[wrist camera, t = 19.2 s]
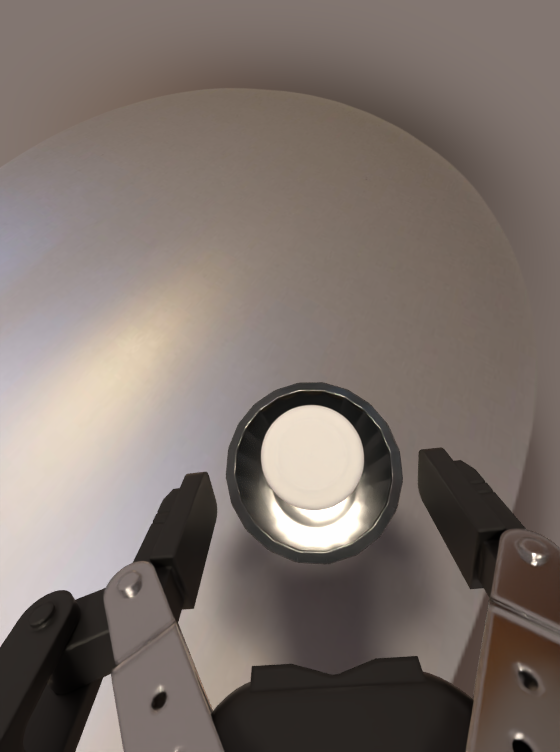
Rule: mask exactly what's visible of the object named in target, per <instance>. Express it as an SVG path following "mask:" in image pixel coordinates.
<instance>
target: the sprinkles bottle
mask: <svg viewBox="0 0 560 752" xmlns="http://www.w3.org/2000/svg"><path fill="white" fill-rule="evenodd" d="M261 464H262V470H263V473H264V476H265V478H266V480H267V482H268V484H269V486H270V487H271V489H272V490H273V491H274V492H275V493H276V494H277V495H278V496H279V497H280V498H281V499H282V500H283V501H285V502H286V503H288V504H290V505H292V506H294V507H297V508H300V509H304V510H311V511H316V510H324V509H328V508H331V507H334V506H336V505H338V504H339V503H341V502H342V501H344V500H345V499H346V498H348V497H349V496H350V495H351V493H352V492H353V491H354V489H355V488H356V486H357V485H358V483H359V480H360V478H361V476H362V472H363V467H364V451H363V446H362V443H361V439H360V437H359V435H358V433H357V431H356V430H355V428H354V427H353V425H352V424H351V423H350V422H349V421H348V420H347V419H346V418H345V417H344V416H342V415H341V414H339V413H338V412H336V411H334V410H332V409H330V408H327V407H323V406H318V405H305V406H300V407H296V408H293V409H291V410H289V411H287V412H285V413H284V414H282V415H281V416H279V417H278V418H277V419H276V420H275V421H274V422H273V424H272V425H271V426H270V428H269V429H268V431H267V433H266V435H265V437H264V440H263V444H262V449H261Z"/></svg>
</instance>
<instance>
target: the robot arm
mask: <svg viewBox="0 0 560 752" xmlns="http://www.w3.org/2000/svg"><path fill="white" fill-rule="evenodd" d="M418 489H419V493H420V496H421V499H422V501H423V503H424V505H425V506H426V508H427V510H428V512H429V514H430V516H431V518H432V519H433V521H434V523H435V525H436V527H437V529H438V530H439V532H440V534H441V536H442V538H443V540H444V542H445V543H446V545H447V547H448V549H449V551H450V553H451V555H452V556H453V558H454V560H455V562H456V564H457V566H458V567H459V569H460V571H461V573H462V575H463V577H464V579H465V580H466V582H467V584H468V586H469V588H470V589H478V588H484V589H485V591H486V593H487V595H488V596H489V604H488V610H487V616H486V622H485V628H484V634H483V640H482V646H481V652H480V658H479V664H478V670H477V676H476V682H475V688H474V694H473V699H472V698H471V697H470V696H468V695H467V694H466V693H465V692H463V691H462V690H460V689H459V688H457V687H456V686H454V685H453V684H451V683H449V682H447V681H446V680H444V679H442V678H440V677H437V676H435V675H432V674H430V673H426V672H422V669H421V665H420V662H419V659H418V656H411V657H395V658H378V659H374V660H371V661H369V662H366V663H364V664H362V665H359V666H357V667H354V668H352V669H350V670H347V671H345V672H342V673H340V674H337V675H331V674H327V673H323V672H320V671H316V670H312V669H309V668H305V667H301V666H298V665H294V664H281V665H265V666H252V673H251V682H249V683H246V684H244V685H243V686H241V687H239V688H238V689H236V690H235V691H233V692H232V693H231V694H229V695H228V696H227V697H226V698H225V699H224V700H223V701H222V702H221V703H220V704H219V705H218V706H217V707H216V708H215V709H214V711H213V709H212V707H211V704H210V702H209V699H208V697H207V695H206V692H205V690H204V687H203V685H202V682H201V680H200V677H199V675H198V672H197V670H196V667H195V665H194V662H193V659H192V657H191V654H190V652H189V649H188V647H187V644H186V642H185V639H184V637H183V634H182V632H181V629H180V626H179V624H178V621H179V617H180V614H181V610H182V609H194V606H195V602H196V598H197V594H198V590H199V586H200V582H201V578H202V574H203V570H204V566H205V562H206V558H207V554H208V550H209V546H210V543H211V539H212V535H213V531H214V527H215V523H216V518H217V503H216V499H215V495H214V492H213V488H212V485H211V481H210V478H209V475H208V473H207V472H199V473H190V474H186V476H185V477H184V480H183V482H182V484H181V487H180V488H178V489H173V490H172V491H171V492H170V493H169V494H168V495H167V496H166V497H165V498H164V499H163V501H162V503H161V505H160V508H159V510H158V514H156V516H155V518H154V520H153V524H151V526H150V528H149V530H148V532H147V534H146V537H145V539H144V541H143V543H142V545H141V547H140V549H139V551H138V553H137V555H136V557H135V559H134V561H133V563H132V564H129V565H127V566H125V567H124V568H122V569H121V570H120V571H119V572H117V573H116V574H115V575H114V576H113V578H112V579H111V580H110V582H109V583H108V585H107V587H106V588H104V589H102V590H99V591H97V592H94V593H92V594H89V595H87V596H84V597H81V598H79V599H76V600H75V599H74V597H73V596H72V594H71V593H70V592H68V591H65V590H59V591H55V592H52V593H50V594H47V595H45V596H44V597H42V598H40V599H39V600H38V601H36V602H35V603H34V604H33V605H31V606H30V607H29V608H28V609H27V610H26V611H25V612H24V613H23V615H22V616H21V617H20V619H19V620H18V621H17V623H16V624H15V626H14V627H13V629H12V630H11V632H10V633H9V635H8V636H7V638H6V639H5V641H4V642H3V644H2V645H1V647H0V752H75V751H76V748H77V745H78V743H79V740H80V738H81V735H82V732H83V730H84V727H85V724H86V722H87V719H88V716H89V714H90V711H91V708H92V706H93V703H94V700H95V698H96V695H97V693H98V690H99V687H100V685H101V682H102V679H103V677H105V676H107V675H109V674H111V677H112V685H113V690H114V696H115V702H116V708H117V714H118V720H119V726H120V732H121V738H122V744H123V749H124V752H560V548H559V547H558V546H557V545H556V544H555V543H554V542H552V541H551V540H549V539H548V538H546V537H544V536H542V535H541V534H538V533H536V532H533V531H530V530H527V529H526V528H525V527H524V526H523V525H522V524H521V522H520V521H519V520H518V519H517V518H516V517H515V516H514V514H513V513H512V512H511V511H510V510H509V508H508V507H507V506H506V505H505V504H504V503H503V501H502V500H501V499H500V498H499V497H498V496H497V494H496V493H495V492H493V490H492V489H491V487H490V486H489V485H488V484H487V483H485V480H484V479H483V478H482V477H481V476H480V474H479V473H478V472H477V471H476V470H475V469H474V468H472V467H471V466H469V465H468V464H466V463H464V462H463V461H461V460H458V461H453V460H452V458H451V457H450V456H449V455H448V453H447V452H446V451H445V450H444V449H443V448H432V449H423V450H420V451H419V461H418Z"/></svg>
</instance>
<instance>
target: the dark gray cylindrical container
mask: <svg viewBox="0 0 560 752" xmlns="http://www.w3.org/2000/svg"><path fill="white" fill-rule="evenodd" d="M305 405H318V406H323V407H327V408H330V409H332V410H334V411H336V412H338V413H339V414H341V415H342V416H344V417H345V418H346V419H347V420H348V421H349V422H350V423H351V424H352V425H353V427H354V428H355V430H356V431H357V433H358V435H359V437H360V439H361V443H362V446H363V451H364V467H363V472H362V476H361V478H360V480H359V483H358V485H357V486H356V488H355V489H354V491H353V492H352V493H351V495H350V496H349V497H348V498H346V499H345V500H344V501H342V502H341V503H339V504H338V505H336V506H334V507H331V508H328V509H324V510H316V511H311V510H304V509H300V508H297V507H294V506H292V505H290V504H288V503H286V502H285V501H283V500H282V499H281V498H280V497H279V496H278V495H277V494H276V493H275V492H274V491H273V490H272V489H271V487H270V486H269V484H268V482H267V480H266V478H265V476H264V473H263V470H262V464H261V449H262V444H263V440H264V437H265V435H266V433H267V431H268V429H269V428H270V426H271V425H272V424H273V422H274V421H275V420H276V419H277V418H278V417H279V416H281V415H282V414H284V413H285V412H287V411H289V410H291V409H293V408H296V407H300V406H305ZM226 480H227V485H228V490H229V495H230V499H231V504H232V506H233V508H234V509H235V511H236V513H237V515H238V517H239V518H240V520H241V522H242V524H243V525H244V527H245V529H246V530H247V531H248V532H249V533H250V534H251V535H252V536H253V537H254V538H255V539H256V540H258V541H259V542H260V543H261V544H262V545H263V546H264V547H265V548H266V549H267V550H269V551H271V552H273V553H275V554H278V555H280V556H282V557H285V558H287V559H289V560H292V561H294V562H298V563H311V564H331V563H334V562H337V561H340V560H343V559H346V558H349V557H353V556H356V555H357V554H359V553H360V552H362V551H363V550H364V549H365V548H367V547H368V546H369V545H370V544H372V543H373V542H374V541H375V540H377V539H378V538H379V537H380V536H381V535H382V533H383V532H384V530H385V528H386V527H387V525H388V523H389V522H390V520H391V519H392V517H393V515H394V514H395V512H396V509H397V506H398V502H399V497H400V492H401V487H402V483H403V475H402V466H401V457H400V451H399V448H398V446H397V444H396V441H395V439H394V437H393V435H392V432H391V430H390V428H389V426H388V424H387V423H386V422H385V421H384V419H383V418H382V417H381V416H380V415H379V414H378V412H377V411H376V410H375V409H374V408H373V407H372V405H370V404H369V403H368V402H366V401H365V400H363V399H362V398H360V397H359V396H357V395H355V394H354V393H352V392H351V391H349V390H347V389H344V388H340V387H337V386H333V385H330V384H327V383H323V382H321V383H296V384H293V385H290V386H287V387H284V388H280V389H277V390H275V391H273V392H271V393H270V394H269V395H267V396H266V397H264V398H263V399H261V400H260V401H258V402H257V403H255V405H253V406H252V408H251V409H250V410H249V411H248V413H247V414H246V415H245V416H244V418H243V419H242V420H241V421H240V423H239V425H238V426H237V428H236V431H235V433H234V436H233V438H232V441H231V443H230V445H229V449H228V457H227V468H226Z"/></svg>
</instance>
